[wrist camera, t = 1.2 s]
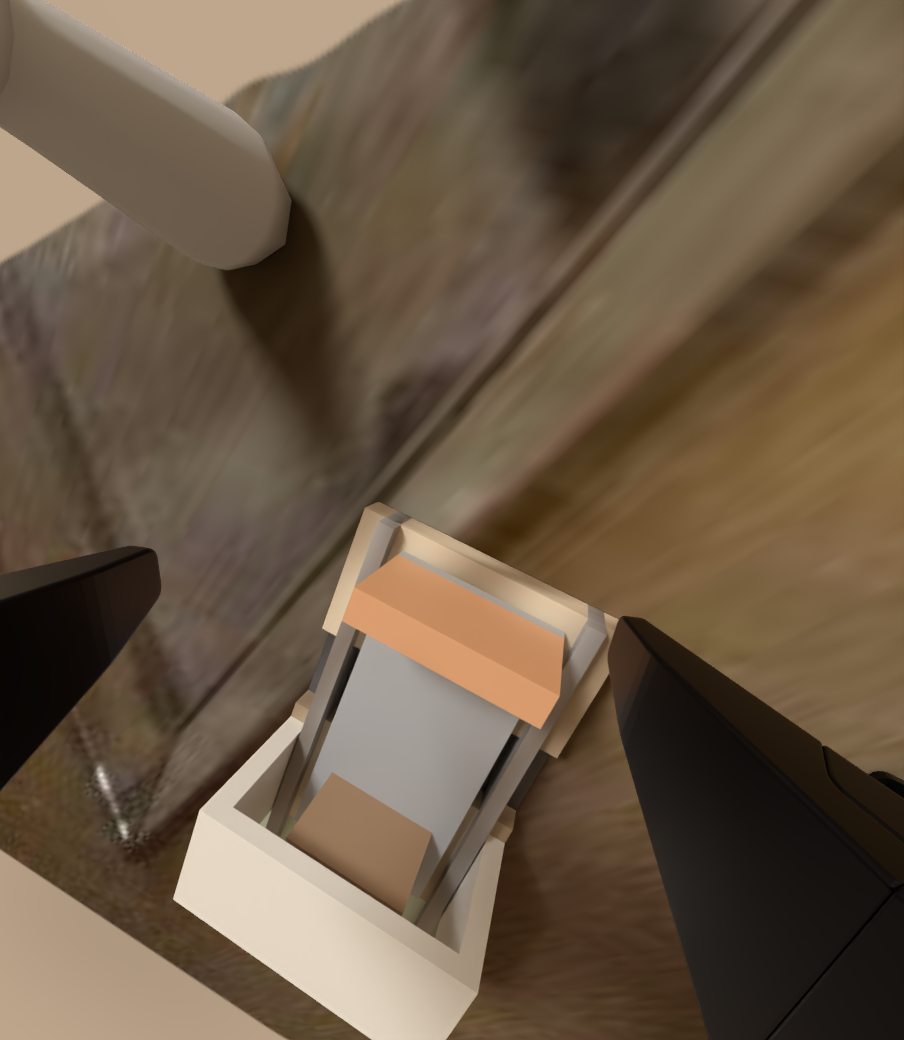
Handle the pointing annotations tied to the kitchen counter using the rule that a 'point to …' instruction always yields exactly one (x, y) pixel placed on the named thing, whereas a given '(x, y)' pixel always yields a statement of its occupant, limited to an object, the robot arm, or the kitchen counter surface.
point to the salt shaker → (140, 138)
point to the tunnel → (333, 914)
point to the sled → (420, 724)
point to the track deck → (526, 744)
